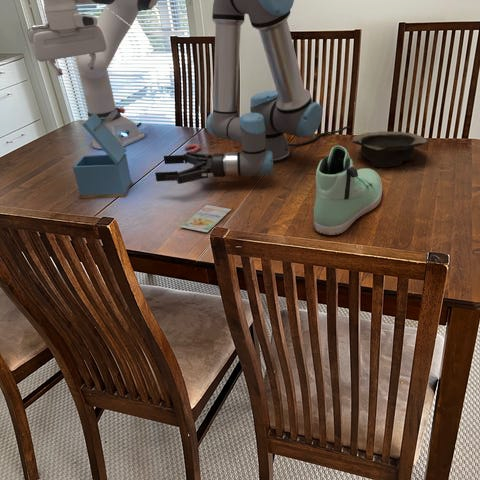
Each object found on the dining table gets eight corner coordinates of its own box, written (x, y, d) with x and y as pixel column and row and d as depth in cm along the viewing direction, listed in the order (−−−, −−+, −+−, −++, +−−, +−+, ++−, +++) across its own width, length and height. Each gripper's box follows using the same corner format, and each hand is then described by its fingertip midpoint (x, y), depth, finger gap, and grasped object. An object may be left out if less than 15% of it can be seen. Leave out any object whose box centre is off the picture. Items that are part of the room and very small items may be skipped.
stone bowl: (385, 177, 154) (386, 150, 149) (337, 159, 174) (336, 134, 170) (441, 159, 162) (444, 132, 158) (389, 143, 183) (390, 119, 178)
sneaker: (389, 187, 148) (396, 123, 138) (356, 242, 123) (361, 168, 112) (346, 181, 154) (350, 119, 144) (306, 232, 129) (307, 161, 118)
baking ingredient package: (180, 226, 135) (206, 203, 147) (180, 227, 136) (206, 205, 147) (207, 231, 132) (231, 208, 143) (207, 232, 132) (231, 209, 143)
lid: (81, 124, 145) (101, 109, 142) (92, 114, 153) (111, 100, 150) (115, 164, 151) (135, 150, 148) (124, 152, 159) (142, 139, 157)
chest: (80, 198, 158) (72, 167, 152) (90, 185, 166) (82, 155, 161) (124, 196, 157) (117, 165, 151) (132, 183, 165) (125, 153, 159)
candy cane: (166, 159, 182) (166, 155, 181) (191, 146, 192) (191, 142, 191) (178, 161, 179) (177, 158, 178) (203, 148, 189) (203, 144, 188)
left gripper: (27, 27, 128) (42, 80, 135) (102, 17, 136) (112, 68, 143) (23, 25, 132) (37, 77, 140) (95, 16, 141) (105, 65, 148)
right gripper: (222, 192, 146) (154, 195, 148) (229, 160, 167) (169, 163, 169) (220, 170, 142) (150, 173, 144) (227, 140, 163) (165, 143, 165)
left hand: (76, 72), depth 141 cm, fingers open, 8 cm apart
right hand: (160, 168), depth 156 cm, fingers open, 13 cm apart
